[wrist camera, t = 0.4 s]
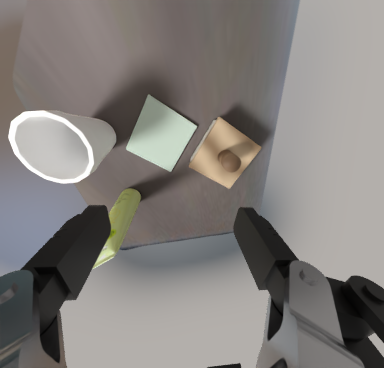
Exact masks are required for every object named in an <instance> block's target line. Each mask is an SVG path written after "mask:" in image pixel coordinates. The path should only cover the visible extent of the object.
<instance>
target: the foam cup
mask: <svg viewBox="0 0 384 368" xmlns="http://www.w3.org/2000/svg"><path fill="white" fill-rule="evenodd" d="M8 138H9V140H10V143H11V146H12V148H13V151H14V153H15V155H16V156H17V157H18V158H19V159H20V160H21V162H22V163H23V164H24V165H25V166H26V167H27V168H28V169H29V170H31V171H32V172H34V173H36V174H37V175H39V176H41V177H43V178H44V179H47V180H51V181H54V182H58V183H62V184H63V183H74V182H79V181H80V180H82V179H84V178H85V177H87V176H88V175H90V174H91V173H92V172H94V171H95V170H96V169H97V168H98V166H99V164H100V163H101V161H102V160H103V159H104V158H105V157H106V155H107V154H108V153H109V152H110V151H111V149H112V148H113V147H114V145H115V143H116V133H115V131H114V129H113V128H112V127H111V126H110V125H109V124H108V123H107V122H105V121H103V120H100V119H96V118H90V117H84V116H79V115H73V114H67V113H64V112H61V111H58V110H57V111H27V112H23V113H22V114H20V115H19V116H18V117H17V118H15V119H14V120H13V121H12V122H11V126H10V131H9V136H8Z"/></svg>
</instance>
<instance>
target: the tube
mask: <svg viewBox="0 0 384 368" xmlns="http://www.w3.org/2000/svg"><path fill="white" fill-rule="evenodd" d="M140 200H141V195H140V193H139V192H138V191H137V190H135V189H131V188H129V189H125V190H124V191H123V192H122V193H121V195H120V196H119V198H118V200H117V201H116V203H115V204H114V206H113V208H112V210H111V211H110V213H109V219H110V223H111V233H110V236H109V238H108V240H107V242H106V244H105V245H104V247H103V249H102V251H101V253H100V255H99V257H98V259H97V261H96V263H95V265H94V266H93V268H92V269H94V268H95V267H97V266H99V265H101V264H103V263H105V262H106V261H108V260H110V259H111V258H113V257H115V255H116V253H117V252H118V250H119V248H120V246H121V244H122V242H123V240H124V237H125V235H126V233H127V231H128V228H129V226H130V224H131V222H132V219H133V217H134V215H135V212H136V210H137V207H138V205H139V203H140Z"/></svg>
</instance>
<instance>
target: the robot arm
mask: <svg viewBox="0 0 384 368" xmlns="http://www.w3.org/2000/svg"><path fill="white" fill-rule="evenodd" d="M110 233H111V223H110V219H109V215H108V211H107V207H106V206H105V205H89V206H88V207H87V208H86V209H85V210H84V211H83V213H82V214H78V215H76V216H74V217H73V218H71V219H70V220H68V221H67V222H66V223H65V224H64V225H63V226H62V227H61V228H60V230H59V231H57V232H56V233H55V234H54V235H53V238H50V240H49V241H48V242H47V243H46V244H45V245H44V246H43V247H42V248H41V249H40V250H39V251H38V252H37V253H36V254H35V255H34V256H33V257H32V258H31V259H30V260H29V261H28V262H27V263H26V265H25V266H24V267H23V268H22V269H21V270H18V271H14V272H10V273H8V274H5V275H3V276H1V277H0V368H67V366H66V361H65V351H64V341H63V331H62V322H61V313H60V310H59V309H60V308H61V306H62V304H63V302H64V301H66V300H76V299H77V297H78V295H79V293H80V291H81V289H82V287H83V285H84V284H85V282H86V280H87V278H88V276H89V274H90V272H91V270H92V268H93V266H94V265H95V263H96V261H97V259H98V257H99V255H100V253H101V251H102V249H103V247H104V245H105V244H106V242H107V240H108V238H109V236H110ZM234 235H235V237H236V239H237V241H238V244H239V246H240V248H241V250H242V253H243V255H244V257H245V260H246V262H247V264H248V266H249V269H250V271H251V273H252V275H253V278H254V280H255V282H256V284H257V287H258V289H259V290H268V291H269V293H270V296H269V299H268V306H267V314H266V322H265V330H264V338H263V344H262V347H261V350H260V353H259V356H258V360H257V365H256V368H384V357H383V356H382V355H381V353H380V352H379V351H378V350H377V348H376V347H375V346H374V345H373V343H372V342H371V341H370V340H369V338H368V336H370V335H372V334H373V333H376V334H377V336H378V337H379V338H380V339H381V340H382V341H383V343H384V289H383V288H382V287H380V286H379V285H377V284H376V283H374V282H372V281H370V280H368V279H366V278H364V277H361V276H351V277H350V278H349V279H348V280H347V281H346V282H343V281H339V280H336V279H332V278H328V277H325V276H324V275H323V274H322V273H321V272H320V271H319V270H318V269H317V268H315V267H314V266H312V265H310V264H308V263H306V262H303V261H299V259H298V258H297V257H296V256H295V255H294V253H293V252H292V251H291V250H290V248H289V247H288V246H287V244H286V243H285V242H284V241H283V239H282V238H281V237H280V236H279V235H278V233H277V232H276V230H274V228H273V227H272V225H271V224H270V223H269V222H268V221H267V220H266V219H265V218H263V217H262V216H259V215H258V214H257V212H256V211H255V210H254V209H253V208H251V207H240V208H239V209H238V213H237V216H236V219H235V223H234ZM208 368H241V364H240V363H239V364H230V365H222V366H214V367H208Z"/></svg>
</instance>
